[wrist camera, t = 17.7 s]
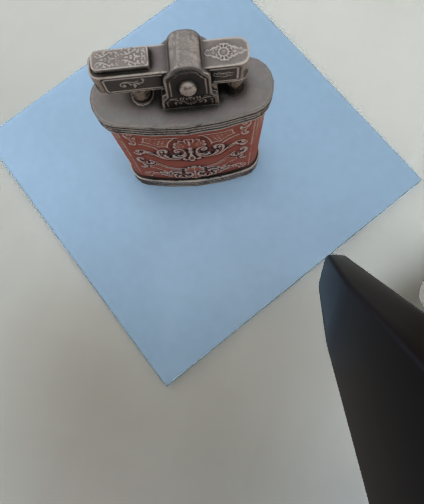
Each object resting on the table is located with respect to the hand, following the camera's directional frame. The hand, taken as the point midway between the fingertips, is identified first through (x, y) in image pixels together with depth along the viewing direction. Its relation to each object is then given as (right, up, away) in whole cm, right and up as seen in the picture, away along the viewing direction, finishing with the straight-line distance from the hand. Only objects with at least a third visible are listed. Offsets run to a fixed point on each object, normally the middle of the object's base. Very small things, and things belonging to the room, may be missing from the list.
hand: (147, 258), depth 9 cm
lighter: (+1, +6, +14) cm, 15 cm away
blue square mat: (+1, +6, +14) cm, 15 cm away
